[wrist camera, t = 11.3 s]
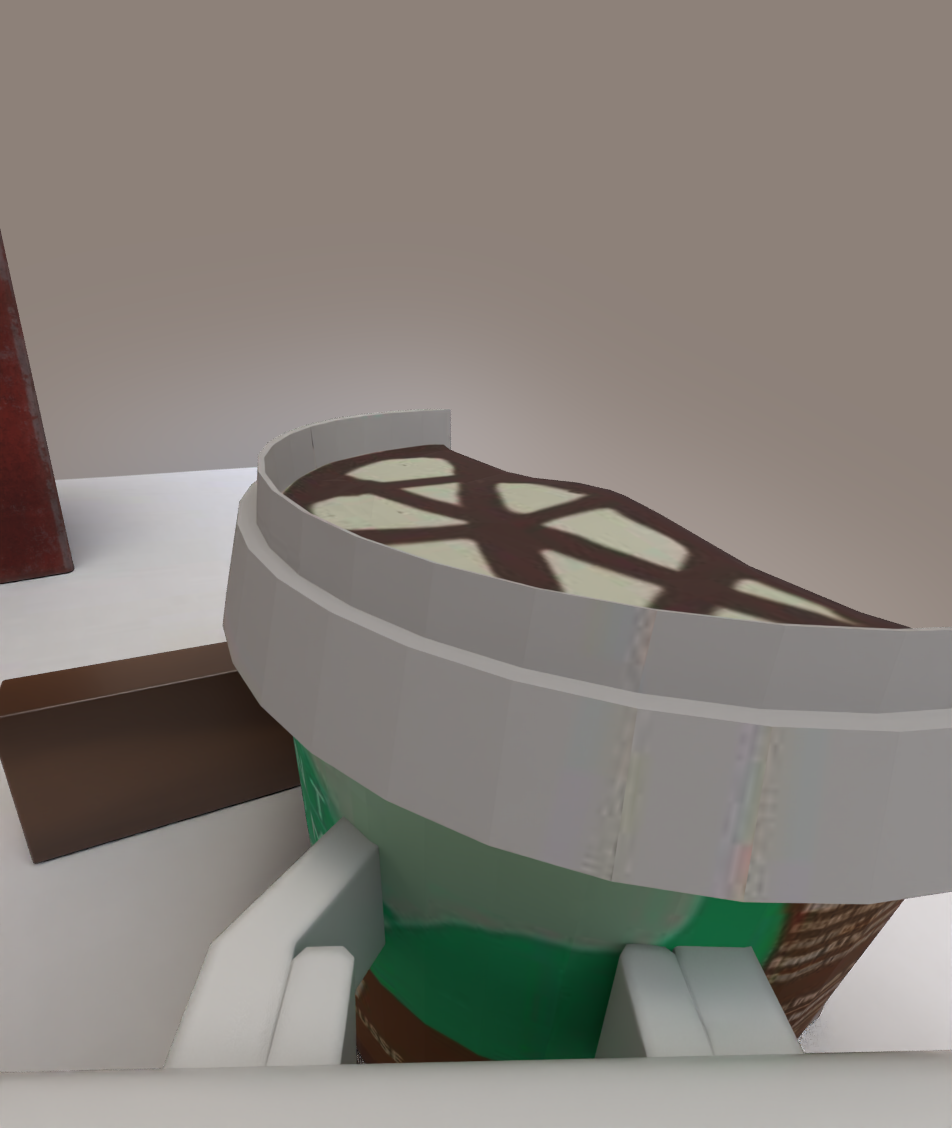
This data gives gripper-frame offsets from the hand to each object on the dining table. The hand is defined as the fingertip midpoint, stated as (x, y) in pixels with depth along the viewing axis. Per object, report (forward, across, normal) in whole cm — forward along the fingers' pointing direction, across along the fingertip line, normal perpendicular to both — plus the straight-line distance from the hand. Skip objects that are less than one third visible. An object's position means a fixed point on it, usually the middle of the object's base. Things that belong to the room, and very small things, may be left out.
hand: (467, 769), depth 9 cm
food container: (0, 0, +5) cm, 5 cm away
